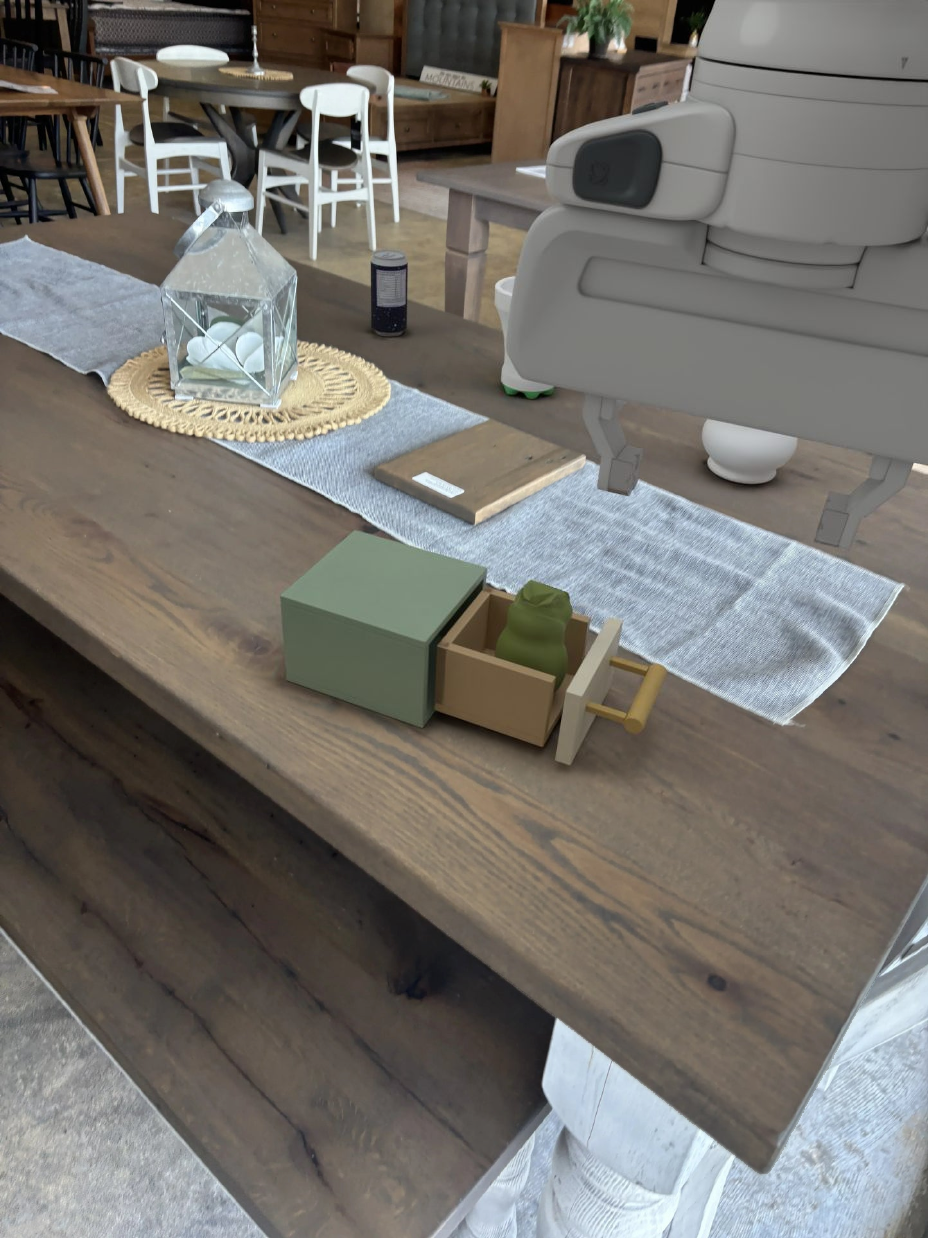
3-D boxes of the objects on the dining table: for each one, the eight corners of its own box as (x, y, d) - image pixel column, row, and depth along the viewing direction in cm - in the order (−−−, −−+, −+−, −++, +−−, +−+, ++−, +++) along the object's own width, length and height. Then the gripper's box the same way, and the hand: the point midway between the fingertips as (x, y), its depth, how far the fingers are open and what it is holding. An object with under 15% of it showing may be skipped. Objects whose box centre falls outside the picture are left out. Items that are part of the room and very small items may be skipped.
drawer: (662, 703, 73) (678, 636, 69) (626, 785, 65) (642, 715, 61) (482, 646, 78) (488, 580, 74) (430, 717, 70) (433, 648, 66)
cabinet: (481, 649, 79) (487, 567, 74) (422, 728, 70) (425, 642, 65) (356, 609, 82) (354, 529, 78) (286, 680, 74) (279, 595, 69)
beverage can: (413, 331, 146) (414, 253, 139) (394, 340, 142) (395, 260, 135) (383, 324, 148) (383, 246, 141) (364, 333, 144) (363, 254, 137)
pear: (480, 698, 70) (489, 591, 65) (512, 662, 74) (523, 559, 68) (545, 725, 68) (560, 617, 62) (574, 687, 72) (591, 582, 66)
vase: (789, 463, 113) (849, 253, 98) (783, 501, 104) (848, 277, 90) (701, 446, 116) (747, 239, 101) (688, 481, 107) (737, 261, 93)
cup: (471, 384, 129) (477, 281, 120) (531, 370, 134) (540, 271, 126) (523, 411, 122) (533, 304, 113) (583, 395, 127) (597, 292, 119)
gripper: (1134, 189, 31) (977, 541, 39) (564, 122, 37) (531, 437, 45) (1165, 224, 26) (980, 617, 34) (505, 140, 32) (481, 488, 40)
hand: (720, 513), depth 40 cm, fingers open, 8 cm apart
